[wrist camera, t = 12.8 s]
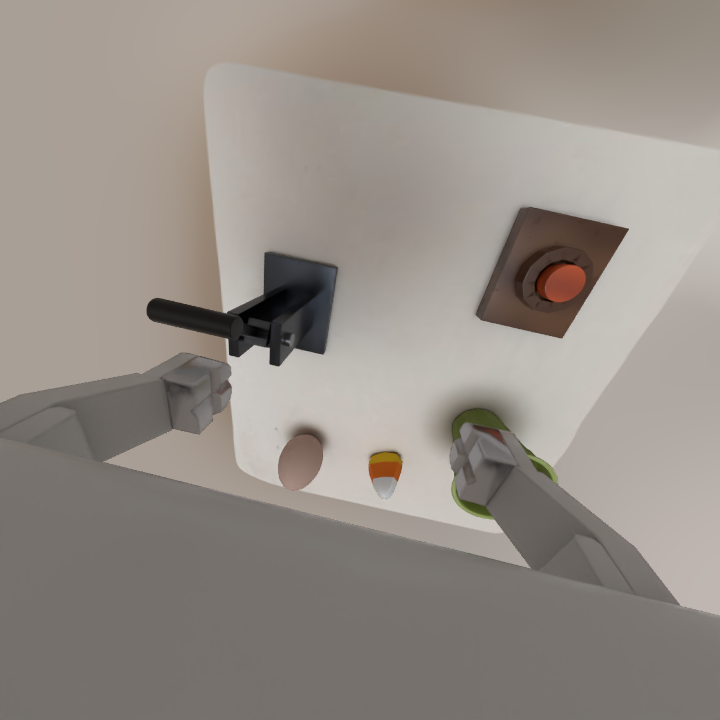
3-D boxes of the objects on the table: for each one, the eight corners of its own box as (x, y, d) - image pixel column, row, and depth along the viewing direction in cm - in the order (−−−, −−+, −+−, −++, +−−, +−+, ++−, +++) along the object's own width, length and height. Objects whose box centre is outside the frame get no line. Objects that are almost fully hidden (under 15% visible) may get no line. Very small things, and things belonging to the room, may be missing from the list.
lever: (150, 286, 15) (141, 328, 15) (235, 306, 15) (226, 347, 15) (247, 318, 27) (242, 340, 27) (294, 328, 27) (288, 351, 27)
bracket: (268, 251, 32) (201, 262, 21) (337, 267, 32) (307, 286, 21) (266, 337, 38) (211, 383, 27) (325, 351, 38) (296, 402, 26)
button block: (520, 208, 27) (539, 205, 24) (612, 229, 27) (645, 228, 24) (475, 314, 33) (485, 325, 29) (552, 332, 33) (571, 344, 29)
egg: (295, 453, 48) (274, 501, 39) (287, 424, 45) (261, 470, 36) (330, 453, 47) (316, 503, 38) (324, 424, 44) (307, 471, 35)
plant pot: (456, 462, 44) (475, 529, 34) (424, 414, 41) (434, 473, 31) (527, 438, 41) (572, 506, 31) (499, 382, 37) (539, 438, 27)
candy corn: (371, 464, 47) (367, 505, 40) (367, 452, 46) (362, 493, 39) (403, 461, 46) (405, 504, 39) (400, 449, 45) (402, 490, 38)
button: (547, 259, 26) (557, 261, 25) (582, 267, 26) (594, 269, 24) (529, 294, 28) (537, 298, 26) (562, 301, 28) (572, 305, 26)
